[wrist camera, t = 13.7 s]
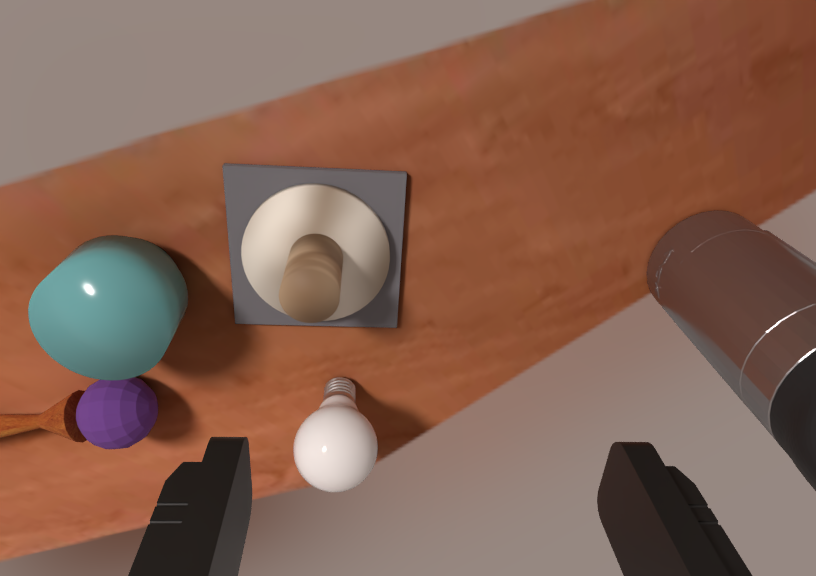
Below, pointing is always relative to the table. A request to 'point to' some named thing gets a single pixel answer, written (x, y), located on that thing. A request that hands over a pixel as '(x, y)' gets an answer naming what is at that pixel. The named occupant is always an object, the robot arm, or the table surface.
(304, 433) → the lightbulb
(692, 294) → the robot arm
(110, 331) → the teal rounded dome
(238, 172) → the mat
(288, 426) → the table surface
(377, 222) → the lid
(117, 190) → the table surface
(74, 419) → the kendama
